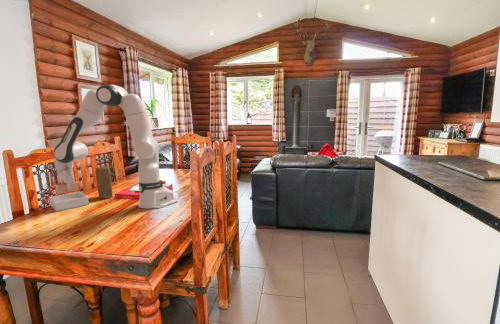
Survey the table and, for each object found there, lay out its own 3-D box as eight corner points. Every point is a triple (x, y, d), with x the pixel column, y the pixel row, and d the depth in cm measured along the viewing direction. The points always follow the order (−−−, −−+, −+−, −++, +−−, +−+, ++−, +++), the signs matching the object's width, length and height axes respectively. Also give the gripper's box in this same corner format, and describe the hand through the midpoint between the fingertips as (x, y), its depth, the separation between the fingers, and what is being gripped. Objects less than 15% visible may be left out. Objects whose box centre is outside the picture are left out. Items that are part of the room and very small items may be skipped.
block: (113, 198, 173) (110, 167, 170) (100, 200, 168) (97, 168, 165) (110, 194, 181) (107, 165, 178) (97, 196, 177) (94, 166, 174)
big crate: (81, 199, 171) (80, 191, 170) (89, 204, 160) (88, 196, 159) (50, 205, 160) (49, 197, 159) (56, 211, 149) (55, 203, 148)
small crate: (75, 189, 164) (74, 181, 163) (78, 191, 160) (77, 182, 159) (56, 192, 157) (54, 184, 156) (58, 194, 153) (57, 186, 152)
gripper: (75, 166, 151) (78, 190, 153) (66, 162, 165) (69, 184, 167) (62, 168, 147) (65, 192, 149) (53, 163, 161) (56, 186, 163)
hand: (67, 188), depth 158 cm, fingers closed on small crate, 6 cm apart
